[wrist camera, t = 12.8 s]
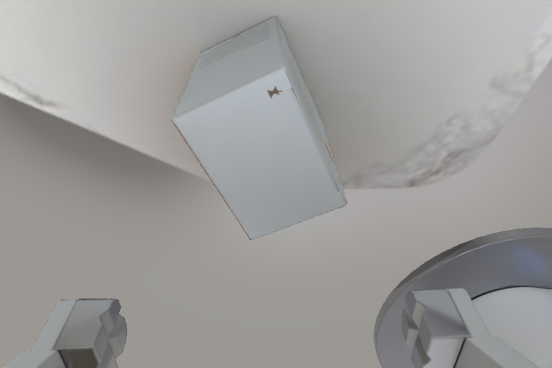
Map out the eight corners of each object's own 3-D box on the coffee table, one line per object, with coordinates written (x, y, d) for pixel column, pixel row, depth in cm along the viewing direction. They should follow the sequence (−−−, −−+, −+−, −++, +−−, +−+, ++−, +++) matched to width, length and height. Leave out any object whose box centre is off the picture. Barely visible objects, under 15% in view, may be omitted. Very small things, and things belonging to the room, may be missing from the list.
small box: (198, 51, 26) (165, 116, 17) (277, 12, 25) (284, 61, 16) (253, 151, 30) (248, 245, 21) (323, 121, 29) (349, 208, 20)
